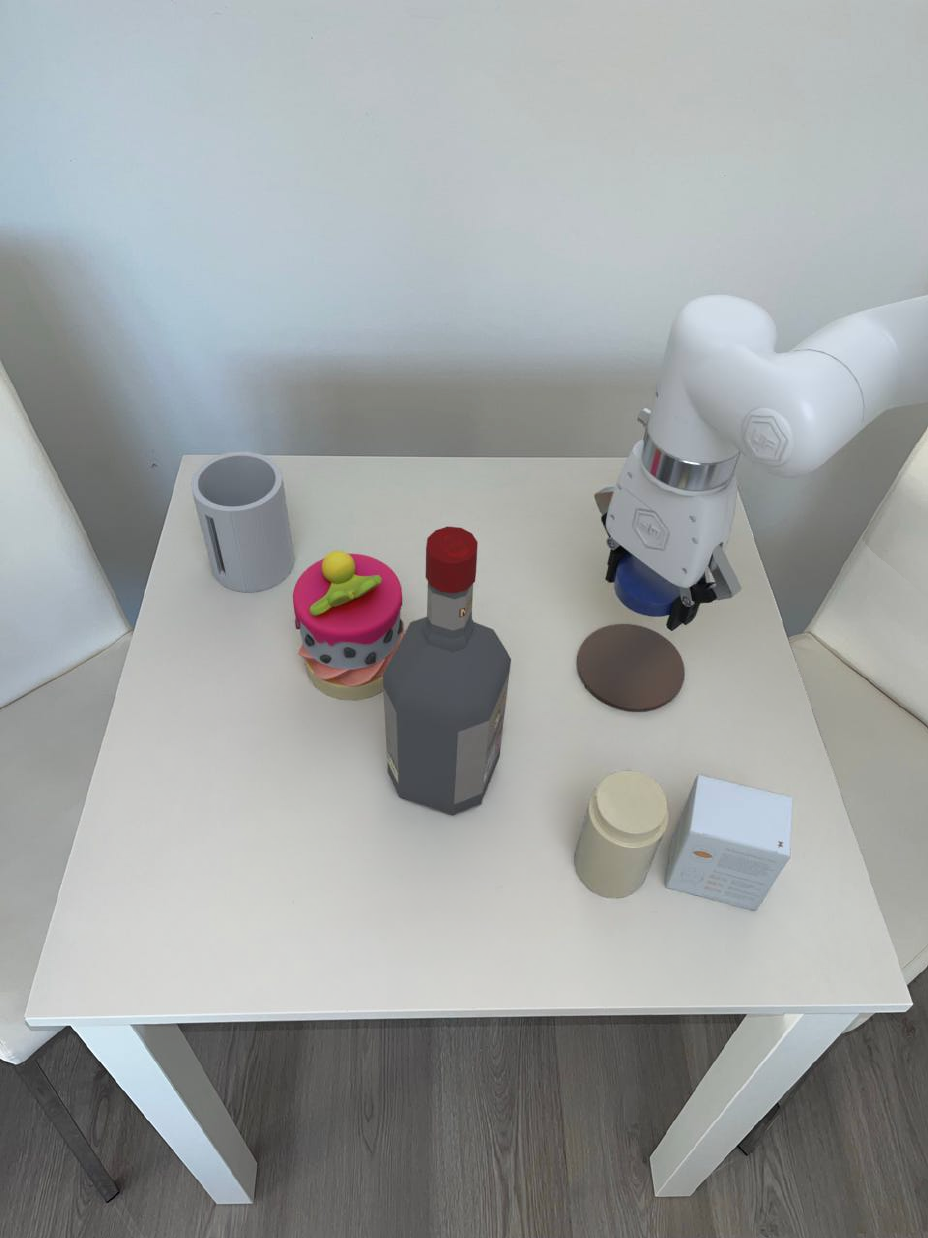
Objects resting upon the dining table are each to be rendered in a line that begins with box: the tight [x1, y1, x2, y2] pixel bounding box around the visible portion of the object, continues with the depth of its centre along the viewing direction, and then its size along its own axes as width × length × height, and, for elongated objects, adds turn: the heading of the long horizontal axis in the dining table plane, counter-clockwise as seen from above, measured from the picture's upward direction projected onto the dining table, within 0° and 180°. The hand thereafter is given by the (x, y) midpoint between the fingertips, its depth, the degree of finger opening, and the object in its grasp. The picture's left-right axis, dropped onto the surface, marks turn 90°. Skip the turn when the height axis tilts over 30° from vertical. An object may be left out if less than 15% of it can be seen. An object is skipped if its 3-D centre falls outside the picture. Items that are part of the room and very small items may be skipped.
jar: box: [573, 770, 669, 899], centre depth 78 cm, size 6×6×11 cm
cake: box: [292, 550, 405, 701], centre depth 90 cm, size 10×11×15 cm
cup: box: [190, 450, 296, 593], centre depth 100 cm, size 9×9×12 cm
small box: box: [664, 774, 794, 911], centre depth 78 cm, size 8×6×10 cm
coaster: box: [576, 623, 686, 713], centre depth 96 cm, size 11×11×1 cm
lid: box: [613, 553, 680, 618], centre depth 87 cm, size 7×7×2 cm
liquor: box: [383, 526, 512, 816], centre depth 76 cm, size 9×9×30 cm
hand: (648, 597), depth 88 cm, fingers closed on lid, 7 cm apart
